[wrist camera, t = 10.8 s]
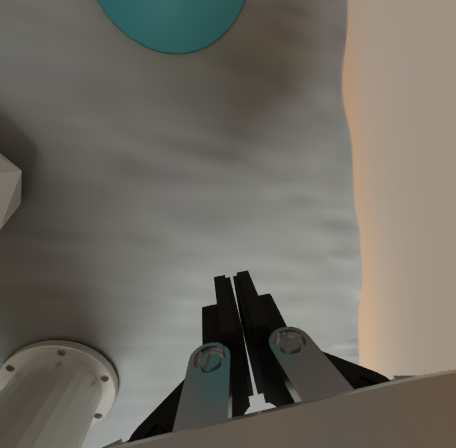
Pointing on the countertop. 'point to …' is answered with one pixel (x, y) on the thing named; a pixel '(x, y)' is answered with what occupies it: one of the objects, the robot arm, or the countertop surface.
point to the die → (9, 189)
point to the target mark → (173, 22)
